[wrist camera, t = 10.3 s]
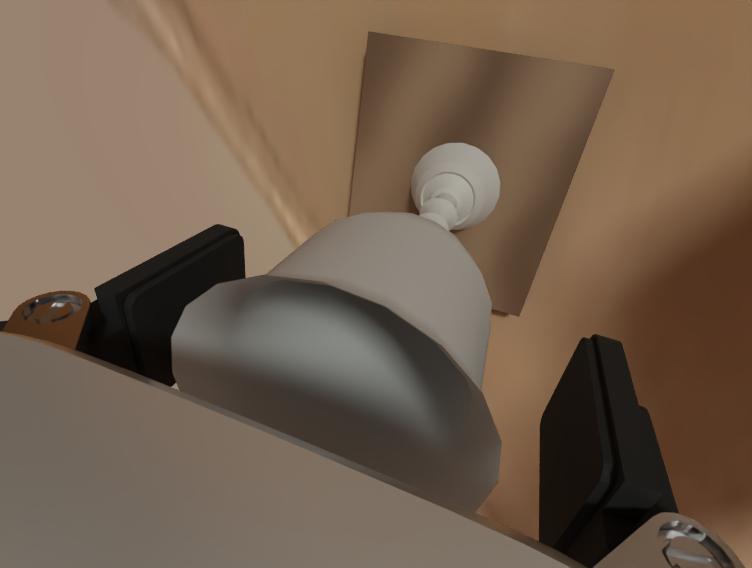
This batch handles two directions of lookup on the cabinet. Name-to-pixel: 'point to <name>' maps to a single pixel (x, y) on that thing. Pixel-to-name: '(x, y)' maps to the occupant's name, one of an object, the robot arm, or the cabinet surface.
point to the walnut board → (477, 141)
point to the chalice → (367, 338)
